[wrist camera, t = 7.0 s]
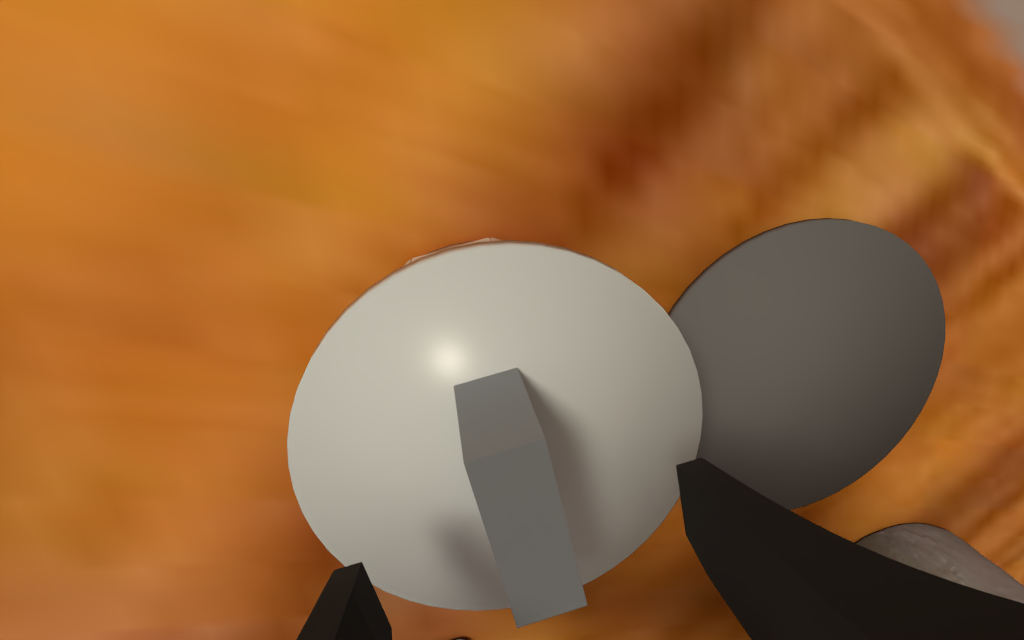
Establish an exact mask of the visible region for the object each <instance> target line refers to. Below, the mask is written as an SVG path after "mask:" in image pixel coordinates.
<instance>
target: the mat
mask: <svg viewBox="0 0 1024 640" xmlns="http://www.w3.org/2000/svg"><path fill="white" fill-rule="evenodd" d="M668 315H669V317H670V318H671V319H672V321H673V322H674V323H675V325H676V326H677V327H678V329H679V331H680V332H681V334H682V336H683V338H684V340H685V342H686V343H687V345H688V347H689V349H690V352H691V355H692V357H693V360H694V363H695V366H696V369H697V372H698V377H699V382H700V387H701V393H702V413H703V417H702V428H701V438H700V442H699V447H698V451H697V455H696V459H698V458H703V459H705V460H706V461H708V462H710V463H711V464H713V465H715V466H716V467H718V468H719V469H721V470H723V471H724V472H726V473H727V474H729V475H731V476H732V477H734V478H735V479H737V480H739V481H740V482H742V483H744V484H745V485H747V486H749V487H750V488H752V489H753V490H755V491H757V492H758V493H760V494H762V495H763V496H765V497H767V498H769V499H770V500H772V501H774V502H776V503H777V504H779V505H781V506H783V507H784V508H786V509H788V510H791V509H795V508H799V507H803V506H806V505H808V504H811V503H814V502H817V501H819V500H822V499H824V498H826V497H828V496H830V495H832V494H834V493H836V492H838V491H840V490H842V489H843V488H845V487H847V486H848V485H850V484H851V483H853V482H855V481H856V480H857V479H859V478H860V477H862V476H863V475H864V474H866V473H867V472H868V471H870V470H871V469H872V468H873V467H874V466H875V465H877V464H878V463H879V462H880V461H881V460H882V459H883V458H885V457H886V456H887V455H888V453H889V452H890V451H891V450H892V449H893V448H894V447H895V446H896V445H897V444H898V443H899V442H900V440H901V439H902V438H903V437H904V435H905V434H906V433H907V431H908V430H909V429H910V428H911V426H912V425H913V423H914V422H915V420H916V418H917V417H918V415H919V414H920V412H921V411H922V409H923V407H924V405H925V403H926V401H927V399H928V397H929V395H930V393H931V391H932V388H933V386H934V383H935V380H936V378H937V375H938V372H939V368H940V364H941V360H942V356H943V349H944V342H945V314H944V307H943V301H942V297H941V294H940V291H939V287H938V284H937V282H936V280H935V278H934V276H933V274H932V272H931V270H930V268H929V267H928V266H927V264H926V263H925V262H924V260H923V259H922V258H921V256H920V255H919V254H918V253H917V252H916V251H915V250H914V249H913V248H912V247H911V246H909V245H908V244H907V243H906V242H904V241H903V240H901V239H900V238H898V237H897V236H895V235H894V234H892V233H890V232H888V231H885V230H883V229H880V228H878V227H876V226H872V225H868V224H864V223H860V222H855V221H851V220H845V219H832V218H824V219H810V220H803V221H798V222H794V223H789V224H785V225H782V226H779V227H776V228H773V229H770V230H767V231H765V232H762V233H760V234H758V235H756V236H754V237H752V238H750V239H748V240H746V241H744V242H742V243H741V244H739V245H738V246H736V247H734V248H733V249H731V250H730V251H728V252H727V253H725V254H724V255H722V256H721V257H720V258H719V259H717V260H716V261H715V262H714V263H712V264H711V265H710V266H709V267H708V268H706V269H705V270H704V271H703V272H702V273H701V274H700V275H699V276H698V277H697V278H696V279H695V280H694V281H693V282H692V283H691V284H690V285H689V286H688V287H687V289H686V290H685V291H684V293H683V294H682V295H681V296H680V298H679V299H678V300H677V301H676V303H675V304H674V305H673V307H672V309H671V310H670V312H669V313H668Z"/></svg>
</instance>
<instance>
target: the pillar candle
mask: <svg viewBox="0 0 1024 640" xmlns="http://www.w3.org/2000/svg"><path fill="white" fill-rule="evenodd" d="M856 544H858V545H860V546H862V547H865V548H867V549H869V550H872V551H874V552H876V553H879V554H881V555H883V556H886V557H888V558H890V559H893V560H895V561H898V562H901V563H903V564H906V565H908V566H911V567H913V568H916V569H919V570H922V571H925V572H927V573H930V574H933V575H936V576H939V577H941V578H944V579H947V580H950V581H953V582H955V583H959V584H962V585H965V586H968V587H971V588H974V589H977V590H980V591H983V592H987V593H990V594H993V595H997V596H1000V597H1004V598H1007V599H1010V600H1014V601H1017V602H1021V603H1024V586H1023V585H1022V584H1020V583H1019V582H1018V581H1016V580H1015V579H1014V578H1013V577H1011V576H1010V575H1009V574H1007V573H1006V572H1005V571H1004V570H1002V569H1001V568H1000V567H998V566H997V565H995V564H994V563H992V562H991V561H990V560H988V559H987V558H985V557H984V556H983V555H981V554H980V553H979V552H977V551H976V550H975V549H974V548H972V547H971V546H970V545H969V544H967V543H966V542H965V541H963V540H962V539H960V538H959V537H957V536H956V535H954V534H952V533H951V532H950V531H948V530H945V529H942V528H939V527H935V526H932V525H928V524H921V523H913V524H910V523H907V524H903V525H902V524H900V525H897V526H893V527H889V528H886V529H883V530H882V531H879V532H876V533H873V534H871V535H869V536H867V537H864V538H863V539H862V540H860V541H859V542H857V543H856Z"/></svg>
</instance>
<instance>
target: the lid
mask: <svg viewBox="0 0 1024 640" xmlns="http://www.w3.org/2000/svg"><path fill="white" fill-rule="evenodd" d="M702 417H703V413H702V393H701V387H700V382H699V377H698V372H697V369H696V366H695V363H694V360H693V357H692V355H691V352H690V349H689V347H688V345H687V343H686V342H685V340H684V338H683V336H682V334H681V332H680V331H679V329H678V327H677V326H676V325H675V323H674V322H673V321H672V319H671V318H670V317H669V315H668V314H667V313H666V311H665V310H664V309H663V308H662V307H661V306H660V305H659V304H658V303H657V302H656V301H655V300H654V299H653V298H652V297H651V296H650V295H649V294H648V293H647V292H646V291H644V290H643V289H642V288H641V287H639V286H638V285H637V284H635V283H634V282H632V281H631V280H630V279H628V278H627V277H625V276H624V275H623V274H621V273H620V272H618V271H617V270H616V269H614V268H612V267H611V266H609V265H607V264H605V263H603V262H601V261H599V260H597V259H595V258H593V257H591V256H588V255H586V254H583V253H580V252H577V251H574V250H571V249H568V248H565V247H561V246H556V245H551V244H546V243H540V242H532V241H516V240H501V241H487V242H476V243H472V244H467V245H462V246H457V247H452V248H448V249H445V250H442V251H439V252H436V253H433V254H430V255H427V256H424V257H421V258H419V259H417V260H415V261H413V262H411V263H409V264H407V265H405V266H403V267H401V268H399V269H397V270H395V271H393V272H392V273H390V274H389V275H387V276H386V277H384V278H383V279H381V280H380V281H378V282H377V283H375V284H374V285H372V286H371V287H369V288H368V289H367V290H366V291H365V292H363V293H362V294H361V295H360V296H359V297H358V298H357V299H356V300H354V301H353V302H352V303H351V304H350V305H349V306H348V307H347V308H346V309H345V310H344V311H343V312H342V314H341V315H340V316H339V317H338V318H337V319H336V321H335V322H334V323H333V324H332V325H331V326H330V327H329V329H328V330H327V332H326V334H325V335H324V337H323V338H322V340H321V341H320V343H319V344H318V346H317V348H316V349H315V351H314V353H313V355H312V357H311V359H310V362H309V364H308V366H307V368H306V371H305V373H304V375H303V377H302V380H301V382H300V384H299V386H298V388H297V392H296V395H295V399H294V403H293V406H292V410H291V414H290V420H289V429H288V439H287V446H288V466H289V471H290V475H291V480H292V485H293V489H294V492H295V495H296V497H297V500H298V502H299V505H300V508H301V510H302V512H303V514H304V516H305V518H306V519H307V521H308V523H309V525H310V526H311V528H312V530H313V531H314V533H315V534H316V536H317V537H318V538H319V539H320V541H321V542H322V543H323V544H324V546H325V547H326V548H327V549H328V551H329V552H330V553H332V554H333V555H334V556H335V557H336V558H337V559H338V560H339V561H340V562H341V563H342V564H343V565H344V566H345V567H346V566H349V565H353V564H356V563H359V562H362V563H363V565H364V568H365V570H366V572H367V574H368V576H369V579H370V581H371V583H372V585H374V586H376V587H378V588H380V589H382V590H384V591H386V592H388V593H391V594H393V595H396V596H398V597H401V598H404V599H406V600H409V601H413V602H417V603H421V604H425V605H428V606H433V607H440V608H447V609H454V610H494V609H505V608H511V610H512V613H513V616H514V619H515V622H516V626H517V628H519V627H522V626H525V625H528V624H531V623H535V622H538V621H541V620H544V619H547V618H550V617H553V616H556V615H560V614H563V613H566V612H569V611H572V610H575V609H578V608H581V607H585V606H588V605H587V601H586V597H585V593H584V589H583V585H584V584H586V583H588V582H590V581H592V580H594V579H596V578H597V577H599V576H601V575H602V574H604V573H606V572H607V571H609V570H610V569H612V568H614V567H615V566H616V565H618V564H619V563H620V562H621V561H623V560H624V559H625V558H627V557H628V556H629V555H631V554H632V553H633V552H634V551H635V550H636V549H637V548H638V547H639V546H640V545H642V544H643V543H644V542H645V541H646V540H647V539H648V538H649V537H650V536H651V535H652V533H653V532H654V531H655V530H656V529H657V528H658V526H659V525H660V524H661V523H662V522H663V521H664V519H665V518H666V516H667V515H668V513H669V512H670V510H671V509H672V508H673V506H674V505H675V503H676V502H677V500H678V498H679V496H680V490H679V484H678V477H677V470H676V465H678V464H682V463H685V462H688V461H691V460H695V459H696V455H697V451H698V447H699V442H700V438H701V428H702Z"/></svg>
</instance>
